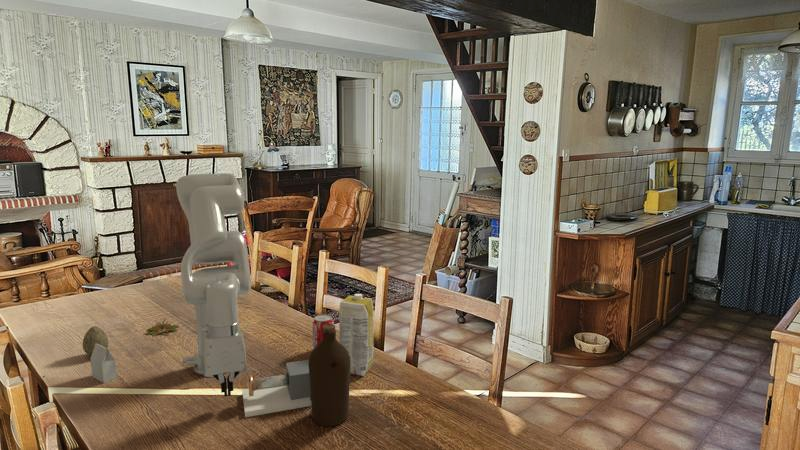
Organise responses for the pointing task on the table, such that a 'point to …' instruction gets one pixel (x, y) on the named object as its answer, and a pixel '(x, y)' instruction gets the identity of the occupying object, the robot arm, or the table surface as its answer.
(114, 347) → the table surface
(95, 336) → the decorative egg
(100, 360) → the grey angular block
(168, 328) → the green leafy plant
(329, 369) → the olive oil
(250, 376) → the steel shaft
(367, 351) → the juice carton
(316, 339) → the soda can
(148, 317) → the table surface
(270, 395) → the bearing board
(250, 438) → the table surface
